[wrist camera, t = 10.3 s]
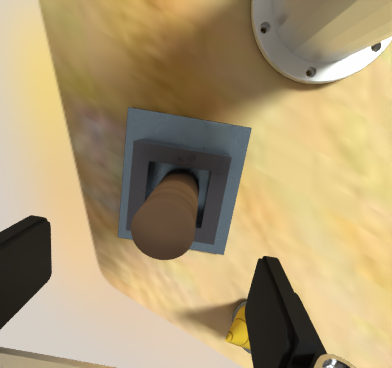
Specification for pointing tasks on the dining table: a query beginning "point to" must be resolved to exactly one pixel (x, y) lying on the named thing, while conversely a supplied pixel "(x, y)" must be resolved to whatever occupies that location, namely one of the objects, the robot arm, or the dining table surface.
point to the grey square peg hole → (185, 159)
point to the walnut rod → (168, 217)
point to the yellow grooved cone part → (239, 329)
